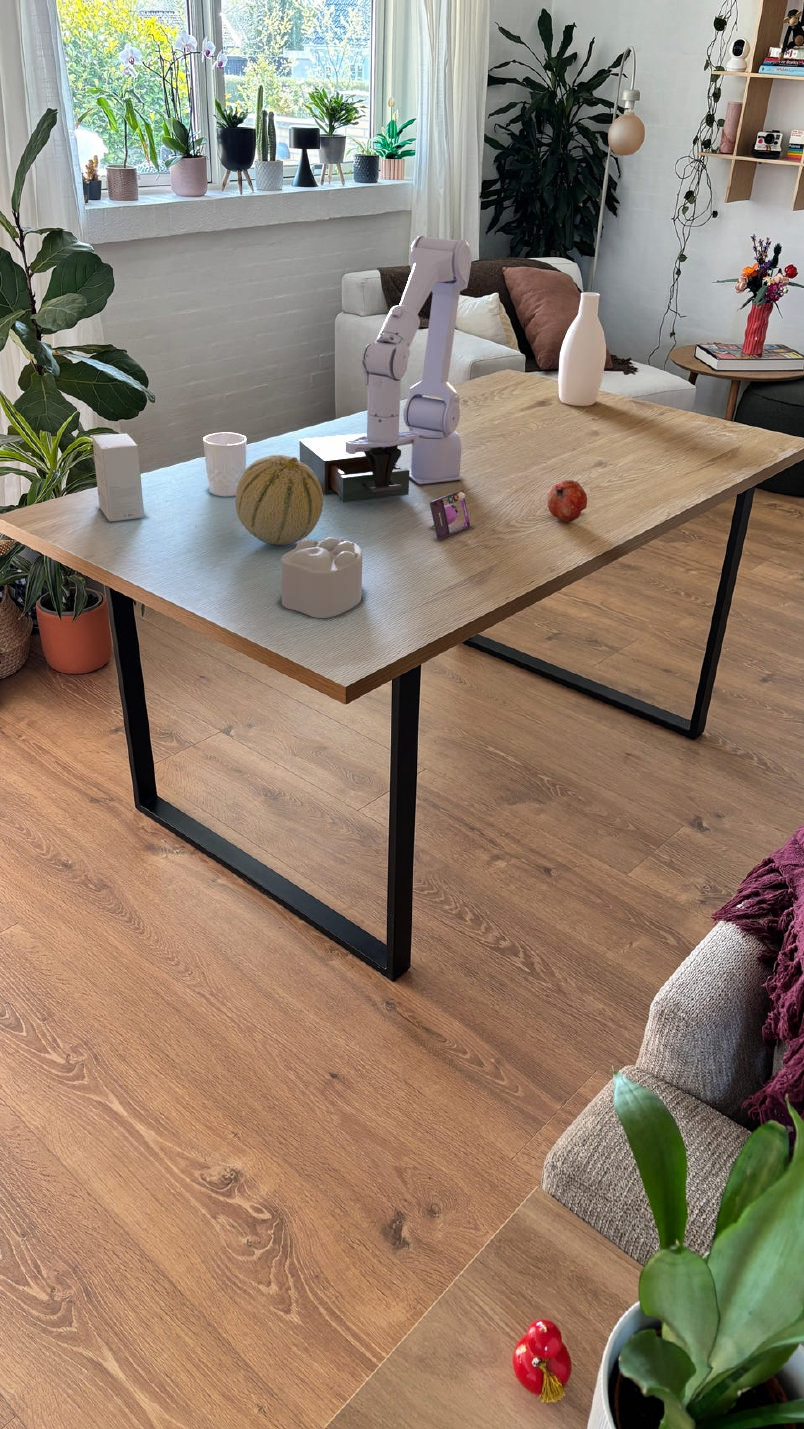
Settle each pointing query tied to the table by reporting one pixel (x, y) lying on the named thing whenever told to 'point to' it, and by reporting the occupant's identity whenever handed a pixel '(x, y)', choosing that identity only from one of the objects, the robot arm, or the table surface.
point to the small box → (118, 476)
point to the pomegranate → (567, 500)
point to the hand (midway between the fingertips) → (381, 487)
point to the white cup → (224, 462)
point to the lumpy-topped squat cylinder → (322, 577)
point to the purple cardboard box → (448, 514)
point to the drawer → (365, 481)
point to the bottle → (583, 355)
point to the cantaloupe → (279, 499)
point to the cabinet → (327, 456)
